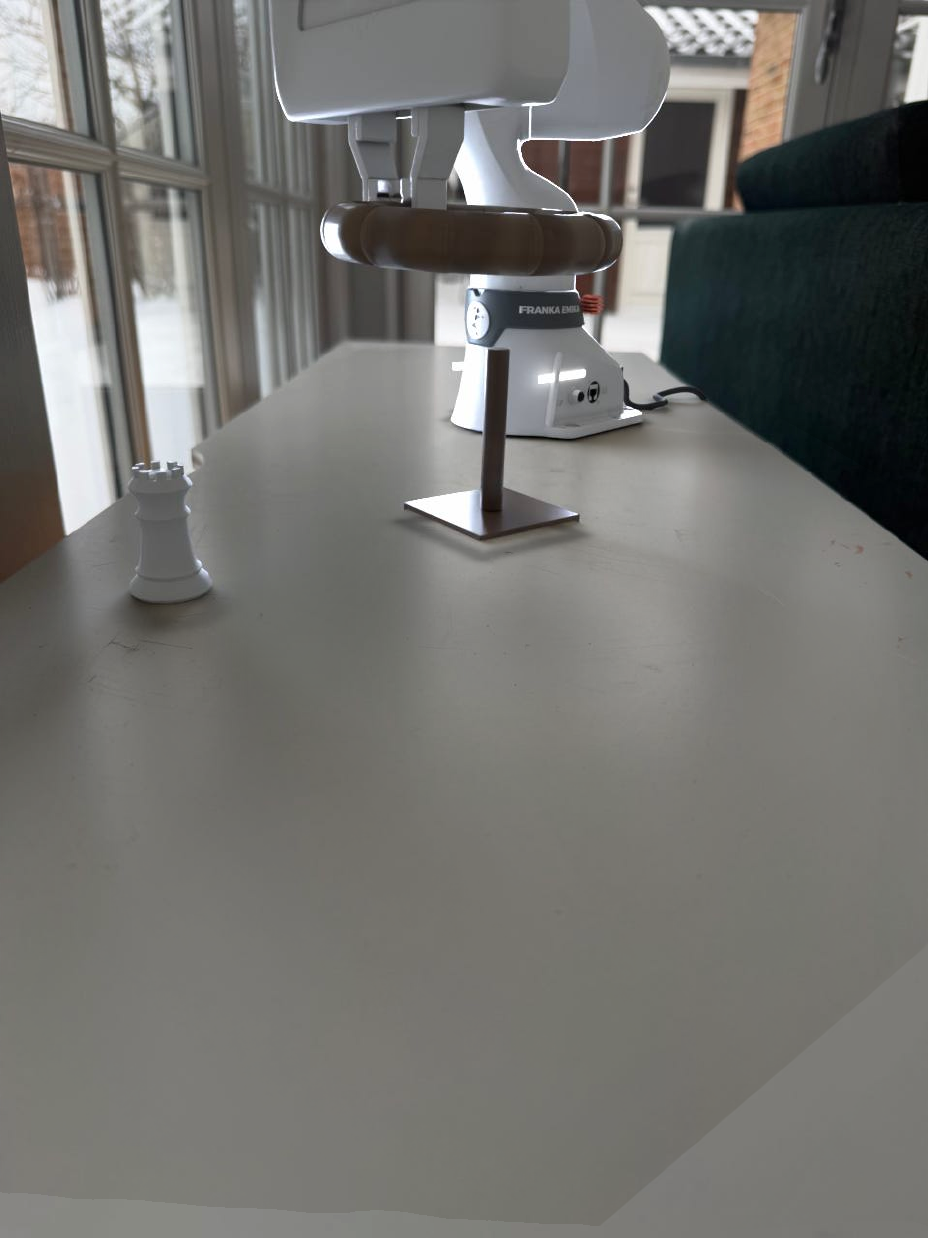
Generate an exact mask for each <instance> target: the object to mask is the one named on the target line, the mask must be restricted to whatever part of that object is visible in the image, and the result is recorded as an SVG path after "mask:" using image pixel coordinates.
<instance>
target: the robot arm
mask: <svg viewBox="0 0 928 1238" xmlns="http://www.w3.org/2000/svg"><path fill="white" fill-rule="evenodd" d="M268 13H269V16H268V17H269V30H270V44H271V45H270V46H271V55H272V65H273V75H274V84H275V90H276V95H277V97H278V100H279V102H280V103H279V104H280V105H281V108H282V110H283V113H284V115H285V116H286V118H287V119H288V120H289V121H291V122H294V123H295V122H296V123H305V124H313V125H314V124H315V125H329V126H330V125H331V126H338V125H347V135H348V136H347V138H348V139H347V141H348V145H349V147H350V150H351V154H352V155H353V158H354V162H355V164H356V167H357V170H358V172H359V175H360V178H361V179H362V201H397V202H401V207H410V208H426V209H442V210H447V203H448V180H449V179H450V177H451V174H452V171H453V170H454V168H455V170H456V172H457V175H458V177H459V179H460V183H461V184H462V187H463V191H464V195H465V200H466V203H467V204H468V205H489V206H505V207H522V208H539V209H552V210H565V211H578V212H579V210H578V207H577V205H576V203H575V202H574V200H573V199H572V197H571V196H570V195H569V194H568V193H567V192H566V191H565V190H563V189H562V188H560V187H559V186H557V185H556V184H554V183H553V182H551V181H550V180H548V179H547V178H545V177H543V176H541V175H540V174H537V173H536V172H535V171H533V170H531V169H530V167H528V166H527V164H526V163H525V162H524V159H523V157H522V152H521V147H522V145H523V143H524V142H526V141H530V140H554V141H555V140H556V141H557V140H558V141H592V142H595V141H602V140H607V139H608V140H609V139H613V138H619V137H623V136H628V135H632V134H636V133H640V132H641V133H642V132H643V130H644V129H645V128H646V127H647V126H648V125H649V124H650V123H651V122H652V121H653V120H654V118H655V117H656V115H657V114H658V112H659V111H660V109H661V107H662V104H663V103H664V101H665V98H666V96H667V91H668V88H669V84H670V78H671V56H670V50H669V46H668V42H667V39H666V36H665V34H664V32H663V30H662V28H661V26H660V25H659V23H658V22H657V21H656V20H655V18H654V17H653V16H652V15H651V14H650V13H649V12H648V11H647V10H646V9H645V8H644V7H643V6H642V4H640V3H639V2H638V1H637V0H268ZM408 118H410V119H411V122H410V123H411V125H410V128H411V130H410V131H411V136H412V137H413V138H417V142H416V147H415V152H414V155H413V161H412V165H411V169H410V172H409V173H410V174H409V177H401V178H400V179H399V177H398V172H397V166H396V164H395V159H394V154H393V150H392V145H391V144H396V143H397V141H398V140H397V137H398V135H397V134H398V133H397V131H398V130H397V129H398V128H397V123H398V121H397V120H398V119H408ZM576 276H577V275H568V276H528V277H522V276H495V275H469V277H470V279H469V286H467V287H466V288H465V298H464V299H465V301H464V327H465V335H466V343H465V352H464V359H463V360H464V361H459V362H452V367H451V368H452V370H453V371H462V374H461V379H460V385H459V389H458V394H457V397H456V402H455V406H454V407H453V408H454V409H453V412H452V415H451V418H450V421H451V423H453V424H454V425H456V426H459V427H461V428H464V429H467V430H473V431H476V432H482V433H483V412H484V386H485V360H486V348H490V347H502V348H508V349H510V359H509V380H508V400H507V420H506V436H507V435H509V436H528V437H529V436H531V437H533V436H534V437H547V438H554V439H567V440H568V439H570V440H571V439H577V438H582V437H586V436H589V435H594V434H598V433H603V432H606V431H611V430H614V429H619V428H622V427H627V426H631V425H635V424H639V423H642V422H643V421H644V419H643V417H644V414H643V413H642V412H641V411H640V410H643V411H644V410H645V411H646V410H647V411H650V410H654V409H658V408H662V407H666V406H668V404H669V401H668V399H667V398H666V397H667V396H671V395H675V394H681V393H682V394H683V393H687V394H693V395H695V396H696V397H698V398H699V400H708V398H707V396H706V394H705V392H703V391H702V390H701V389H699V388H697V387H695V386H687V385H685V386H684V385H683V386H676V387H672V388H668V389H665V390H661V391H658V392H655V393H653V394H652V399H653V401H654V402H648V403H636V402H634V401H632V400H631V399H630V385H629V383H628V382H627V380H626V379H625V378H624V366H622V365H620V363H618V361H617V360H616V359H615V358H614V357H613V356H612V355H610V354H609V352H608V351H607V350H606V348H604V347H603V346H602V345H601V344H600V343H599V342H598V341H597V340H596V339H595V338H594V336H592V335H591V334H590V333H589V332H588V330H587V329H586V328H585V327H584V326H585V324H586V322H585V317H584V314H585V315H587V314H590V315H593V316H598V315H600V314H601V313H602V311H603V310H604V308H603V307H604V306H605V304H604V302H605V301H604V300H603V297H602V295H598V294H594V295H591V294H589V293H588V294H587V293H586V294H584V295H583V296H582V297H580V295H579V291H577V289H576V278H577V277H576Z"/></svg>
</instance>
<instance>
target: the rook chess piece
mask: <svg viewBox="0 0 928 1238" xmlns="http://www.w3.org/2000/svg"><path fill="white" fill-rule="evenodd" d="M149 463H150V465H149V466H150V469H148V470H147V468H146V463H144V462H140V463H136V464H134V466H132V467H131V470H132V471H131V472H132V476H131V478H130V480H129V481H128V483H126V484H127V485H126V488H127V490H128V492H130V493H131V494H132V495H133V496H134V498H135V499H136V500H137V503H138V508H137V510H136V511H135V513H134V515H135V517H136V519H138V520H139V527H140V556H139V562H138V565H137V566H136V567H135V571H136V574H135V576H134V577H132V579H131V580H130V582H129V592H130V595H132V596H133V597H134V598H136V599H138V600H139V601H140V602H145V603H150V604H158V605H159V604H161V605H162V604H164V605H165V604H168V605H169V604H176V603H177V604H178V603H185V602H189V601H192V600H195V599H198V598H200V597H201V596H203V595H205V594H207V593H208V592H209V590H210V588H211V587H212V585H213V582H212V579H211V577H210V575H209V573H208V571H207V570H206V569H204V568H203V563H202V562H201V560H199V559H198V558H197V555H196V553H195V549H194V545H193V541H192V537H191V534H190V533H191V532H190V529H189V515H190V514H191V512H192V510H191V509H190V508H189V506H187V504H186V503H187V502H186V496H187V493H188V492H189V491H190V489H191V488H192V486H193V485H194V484H193V482H192V480H191V479H190V478H189V477H188V476H187V475H186V474H185V469H184V464H183V463H178V461H175V460H168V461H166V468H161V466H162V465H161V460H150V461H149Z"/></svg>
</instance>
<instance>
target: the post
mask: <svg viewBox="0 0 928 1238" xmlns="http://www.w3.org/2000/svg"><path fill="white" fill-rule="evenodd" d="M509 359H510V349H508V348H502V347H490V348H486V360H485V386H484V412H483V432H482V437H481V438H482V439H481V440H482V441H481V463H480V464H481V467H480V468H481V469H480V488H479V489H472V490H467V491H462V492H456V493H449V494H444V495H439V496H432V497H428V498H427V497H426V498H422V499H417V500H412V501H411V500H410V501H405V502H403V510H404V511H406V510H410V511H412V512H414V513H415V514H419V515H420V516H423V517H425V518H428V519H430V520H432V521H434V522H436V523H438V524H440V525H442V526H445V527H448V528H450V529H452V530H454V531H456V532H459V533H461V534H463V535H466V536H468V537H470V538H473V539H475V540H477V541H480V542H482V541H487V540H490V539H495V538H500V537H504V536H509V535H515V534H518V533H519V534H520V533H523V532H527V531H532V530H536V529H542V528H545V527H551V526H555V525H559V524H565V523H568V522H569V523H570V522H573V521H574V522H577V523H580V520H581V519H580V518H581V515H580V513H577V512H573V511H571V510H568V509H566V508H563V507H561V506H557V505H556V504H552V503H549V502H546V501H543V500H541V499H538V498H535V497H532V496H530V495H527V494H524V493H521V492H518V491H515V490H513V489H510V488H508V487H506V486H504V479H505V478H504V477H505V458H506V437H507V434H506V420H507V400H508V380H509Z"/></svg>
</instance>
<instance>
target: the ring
mask: <svg viewBox="0 0 928 1238" xmlns="http://www.w3.org/2000/svg"><path fill="white" fill-rule="evenodd" d="M320 237H321V241H322V243H323V246H324V247H325V249H326V250H327V252H328V253H330V255H331V256H332V257H334V258H336V259H337V260H341V261H344V262H347V263H348V262H349V263H353V264H354V263H355V264H359V265H363V266H364V265H365V266H371V267H375V268H382V269H389V270H390V269H391V270H403V271H412V272H413V271H414V272H425V273H436V274H437V273H438V274H447V275H469V276H470V275H495V276H522V277H528V276H568V275H576V276H584V275H587V274H591V273H595V272H600V271H603V270H606V269H607V268H609V267H611V266H612V265H613V264H614V263H615V262H616V261H617V260H618V259H619V257H620V255H621V253H622V251H623V247H624V236H623V232H622V229H621V227H620V225H619V223H617V221H616V220H615V219H613V218H612V217H611V216H608V215H606V214H600V213H594V212H586V211H579V210H578V211H565V210H552V209H539V208H522V207H505V206H489V205H468V204H465V203H448V202H447V210H442V209H426V208H410V207H401V202H397V201H363V200H340V201H338V202H335V203H333V204H332V205H331V206H330V207H329V208H328V209H327V210H326V211H325V213H324V215H323V217H322V219H321V223H320Z"/></svg>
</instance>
